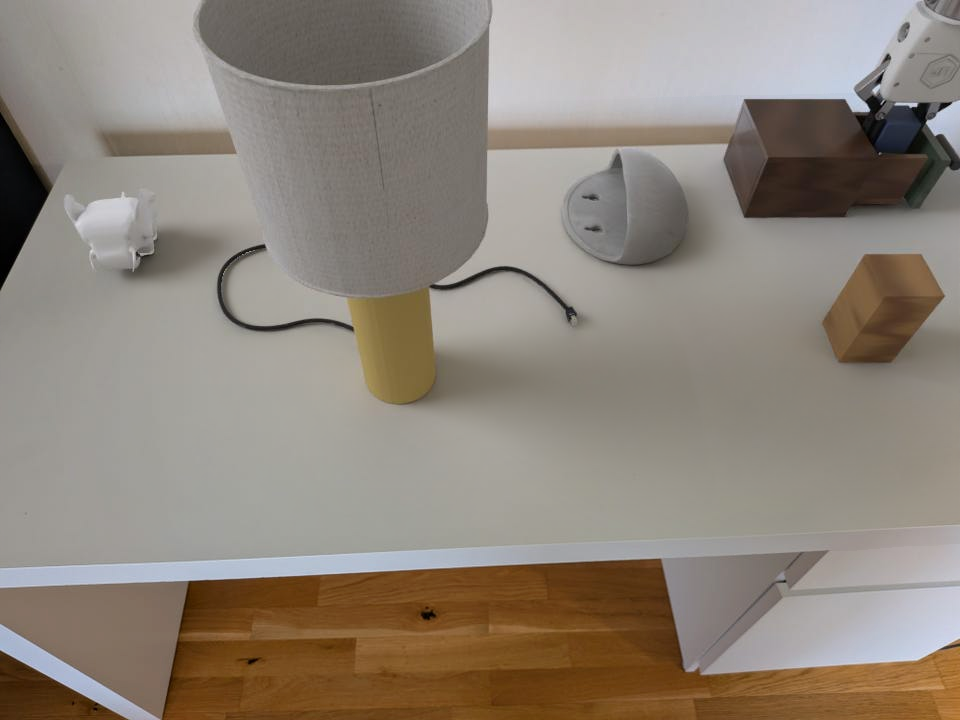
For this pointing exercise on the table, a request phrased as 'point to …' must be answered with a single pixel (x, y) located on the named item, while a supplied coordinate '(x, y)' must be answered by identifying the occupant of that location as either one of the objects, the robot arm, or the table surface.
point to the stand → (881, 307)
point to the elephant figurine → (116, 228)
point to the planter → (627, 209)
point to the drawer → (908, 170)
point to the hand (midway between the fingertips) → (884, 139)
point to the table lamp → (361, 157)
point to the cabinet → (798, 157)
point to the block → (897, 130)
